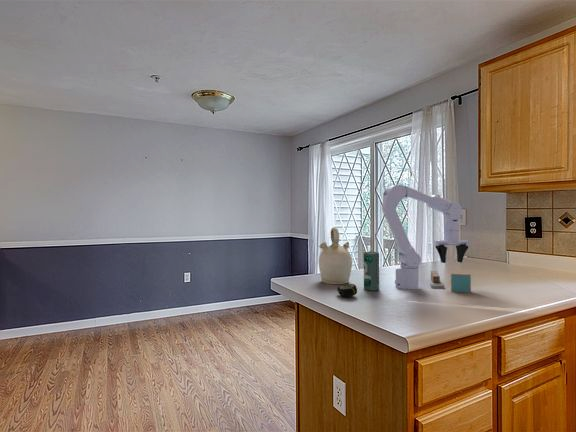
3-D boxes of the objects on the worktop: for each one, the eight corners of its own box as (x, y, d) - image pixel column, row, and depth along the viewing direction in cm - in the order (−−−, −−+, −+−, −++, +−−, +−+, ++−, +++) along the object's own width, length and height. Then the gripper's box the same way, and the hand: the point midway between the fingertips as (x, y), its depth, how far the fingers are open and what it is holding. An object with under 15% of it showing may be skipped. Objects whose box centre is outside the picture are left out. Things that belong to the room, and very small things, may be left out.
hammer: (427, 279, 161) (427, 270, 161) (439, 279, 159) (439, 271, 159) (431, 288, 143) (431, 278, 143) (444, 288, 141) (444, 279, 141)
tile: (451, 291, 136) (451, 273, 136) (450, 290, 139) (450, 272, 139) (470, 292, 134) (470, 274, 134) (469, 291, 136) (469, 273, 136)
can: (363, 287, 146) (363, 251, 146) (378, 287, 145) (377, 251, 145) (364, 290, 140) (364, 253, 140) (379, 290, 139) (379, 253, 139)
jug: (317, 285, 151) (316, 228, 150) (320, 278, 166) (319, 226, 166) (352, 286, 148) (352, 228, 148) (352, 278, 164) (351, 226, 163)
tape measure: (355, 290, 134) (353, 281, 133) (359, 296, 127) (357, 286, 127) (338, 294, 134) (336, 285, 133) (341, 300, 127) (339, 291, 126)
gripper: (441, 231, 140) (441, 264, 141) (473, 230, 143) (473, 263, 143) (431, 230, 147) (431, 261, 148) (462, 229, 150) (462, 260, 150)
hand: (451, 262), depth 146 cm, fingers open, 7 cm apart
